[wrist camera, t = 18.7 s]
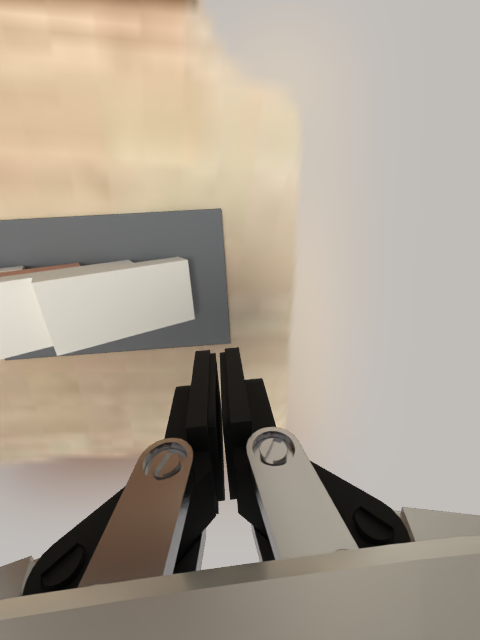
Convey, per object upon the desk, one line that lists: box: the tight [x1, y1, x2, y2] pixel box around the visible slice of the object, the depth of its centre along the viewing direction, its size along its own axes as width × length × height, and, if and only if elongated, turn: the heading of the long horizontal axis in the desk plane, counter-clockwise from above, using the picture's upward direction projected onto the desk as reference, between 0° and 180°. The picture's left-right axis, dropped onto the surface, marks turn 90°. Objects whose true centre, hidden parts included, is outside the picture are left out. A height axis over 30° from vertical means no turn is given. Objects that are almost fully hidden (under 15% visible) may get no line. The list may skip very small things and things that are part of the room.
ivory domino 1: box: [0, 260, 133, 359], centre depth 20 cm, size 2×5×10 cm
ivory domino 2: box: [31, 257, 195, 356], centre depth 20 cm, size 2×5×10 cm
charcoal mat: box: [0, 209, 231, 360], centre depth 23 cm, size 12×21×1 cm, turn 93°
